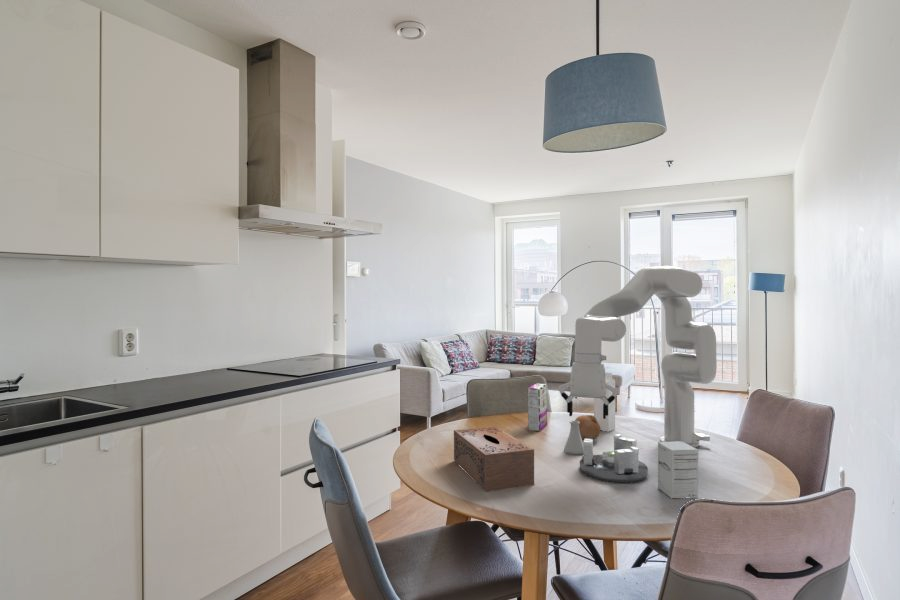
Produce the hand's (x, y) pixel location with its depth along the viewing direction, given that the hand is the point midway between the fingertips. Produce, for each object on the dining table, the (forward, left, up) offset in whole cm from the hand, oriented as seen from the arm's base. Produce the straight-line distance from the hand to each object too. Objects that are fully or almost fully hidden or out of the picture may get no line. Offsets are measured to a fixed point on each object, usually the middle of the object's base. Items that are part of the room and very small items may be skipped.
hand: (587, 416), depth 151 cm
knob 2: (-11, +6, -14) cm, 18 cm away
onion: (+2, -31, -16) cm, 35 cm away
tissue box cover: (+27, +11, -16) cm, 33 cm away
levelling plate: (-7, 0, -16) cm, 17 cm away
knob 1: (-11, -6, -14) cm, 19 cm away
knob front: (0, 0, -14) cm, 14 cm away
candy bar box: (+21, -43, -16) cm, 51 cm away
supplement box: (-23, +12, -16) cm, 31 cm away
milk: (-4, -48, -16) cm, 51 cm away
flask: (+5, -16, -16) cm, 23 cm away
